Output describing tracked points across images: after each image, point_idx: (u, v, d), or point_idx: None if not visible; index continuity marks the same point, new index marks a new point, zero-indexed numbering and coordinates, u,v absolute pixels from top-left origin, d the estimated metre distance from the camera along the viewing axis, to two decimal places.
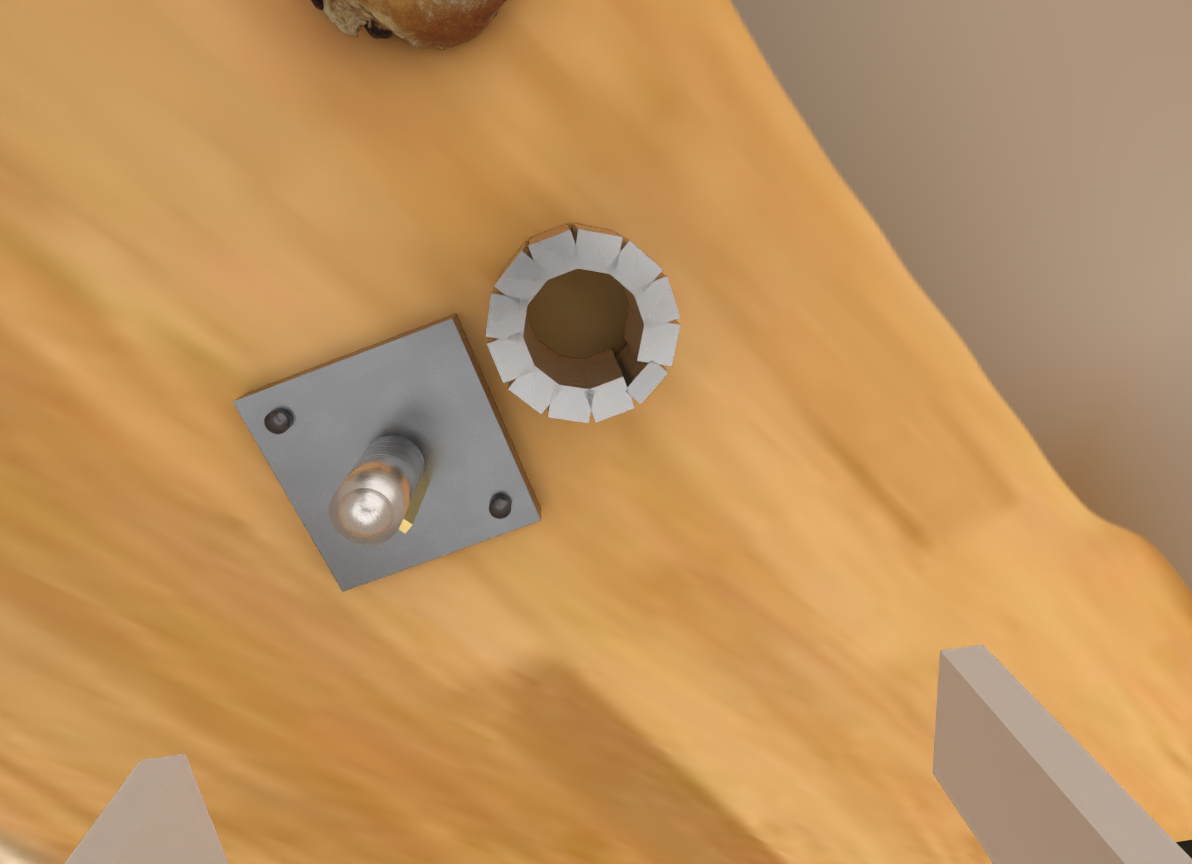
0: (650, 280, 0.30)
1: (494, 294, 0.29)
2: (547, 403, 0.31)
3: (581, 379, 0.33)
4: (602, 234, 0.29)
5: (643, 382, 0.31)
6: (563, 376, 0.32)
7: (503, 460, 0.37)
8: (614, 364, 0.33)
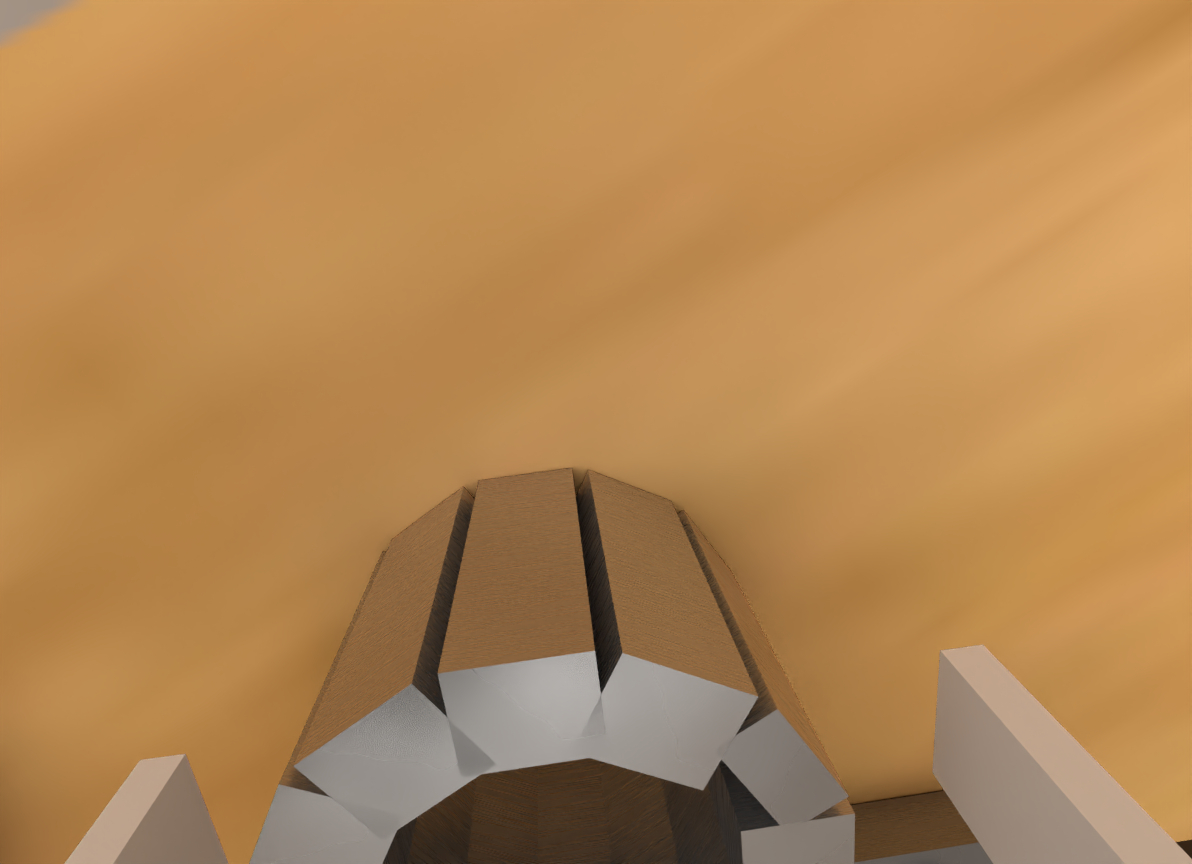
0: (441, 724, 0.08)
1: None
2: None
3: (709, 831, 0.12)
4: (263, 836, 0.09)
5: (782, 782, 0.09)
6: None
7: None
8: None
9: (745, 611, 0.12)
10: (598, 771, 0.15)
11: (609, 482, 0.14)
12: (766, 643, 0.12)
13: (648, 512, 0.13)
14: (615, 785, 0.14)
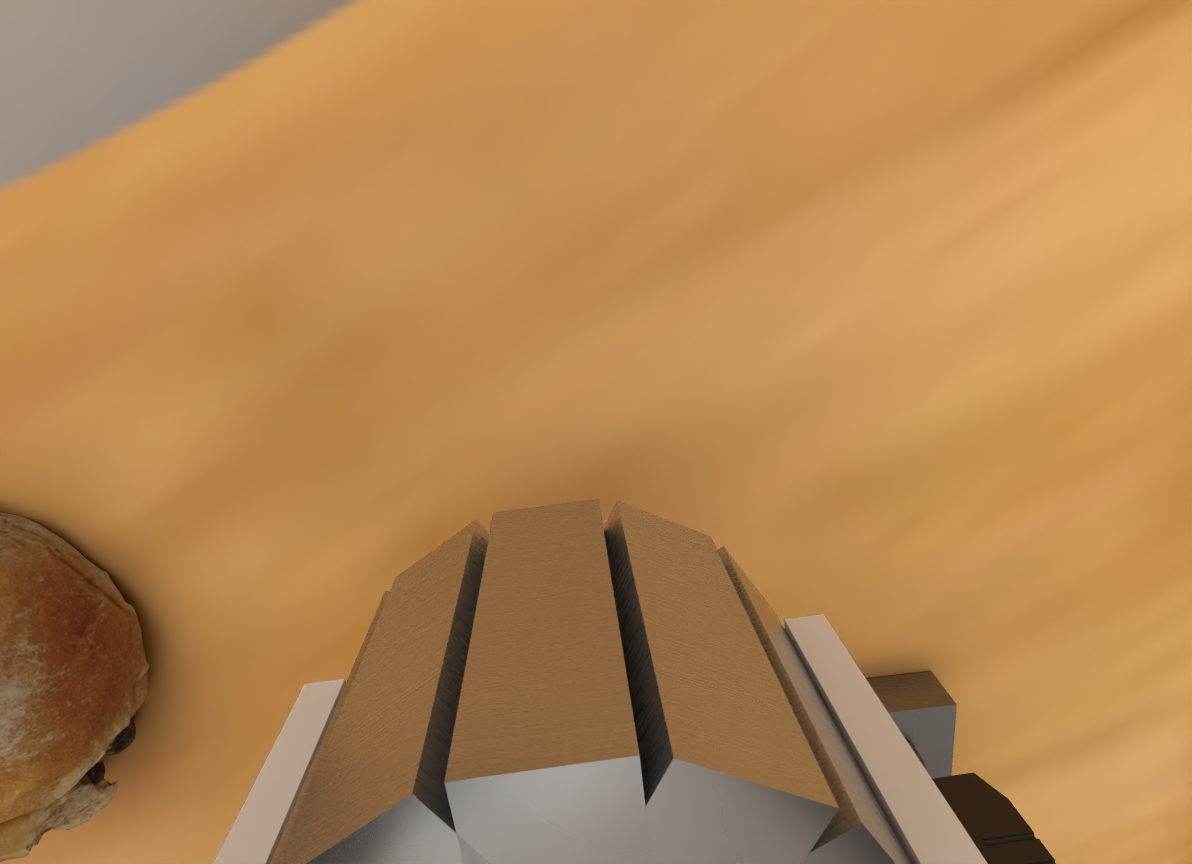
0: (449, 840, 0.07)
1: None
2: None
3: None
4: None
5: None
6: None
7: None
8: None
9: (799, 670, 0.11)
10: None
11: (641, 516, 0.12)
12: (825, 709, 0.11)
13: (687, 553, 0.12)
14: None
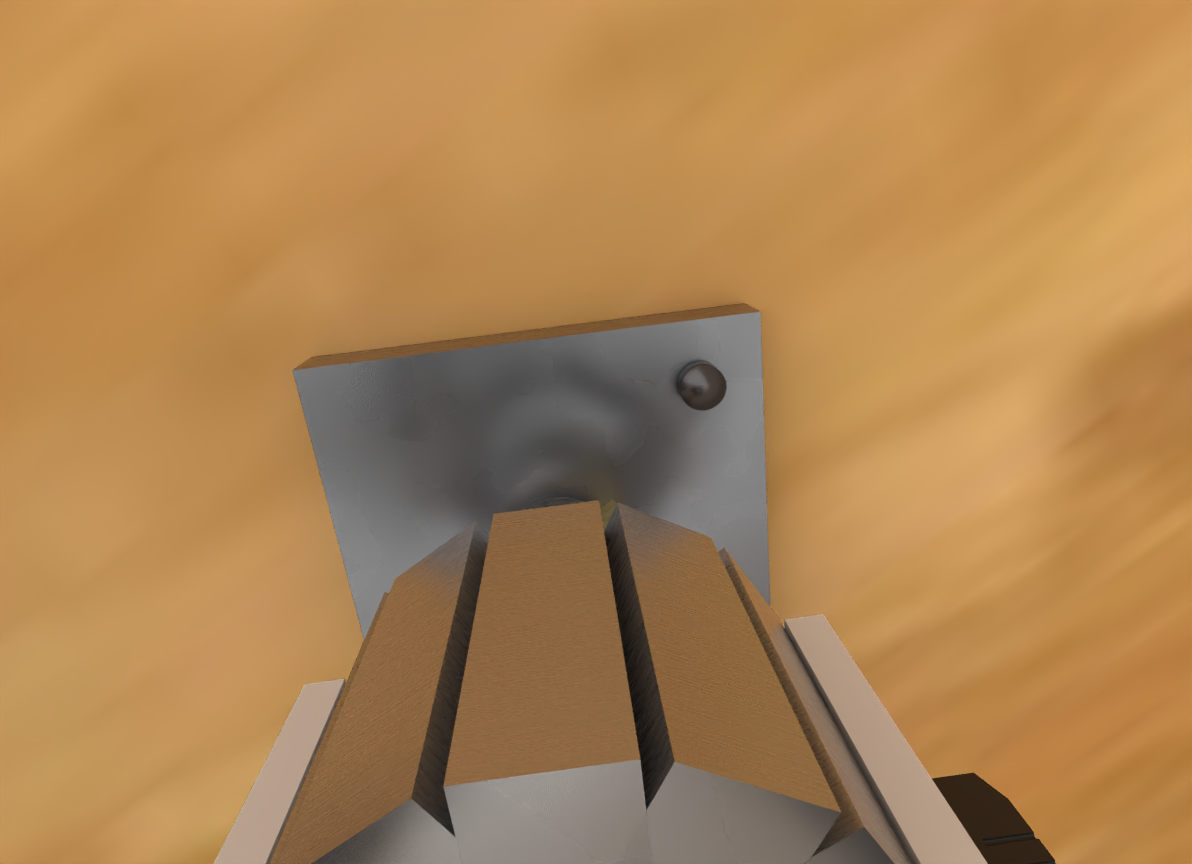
0: (448, 845, 0.07)
1: None
2: None
3: None
4: None
5: None
6: None
7: (606, 352, 0.18)
8: None
9: (801, 672, 0.11)
10: None
11: (641, 517, 0.12)
12: (826, 711, 0.10)
13: (687, 553, 0.11)
14: None
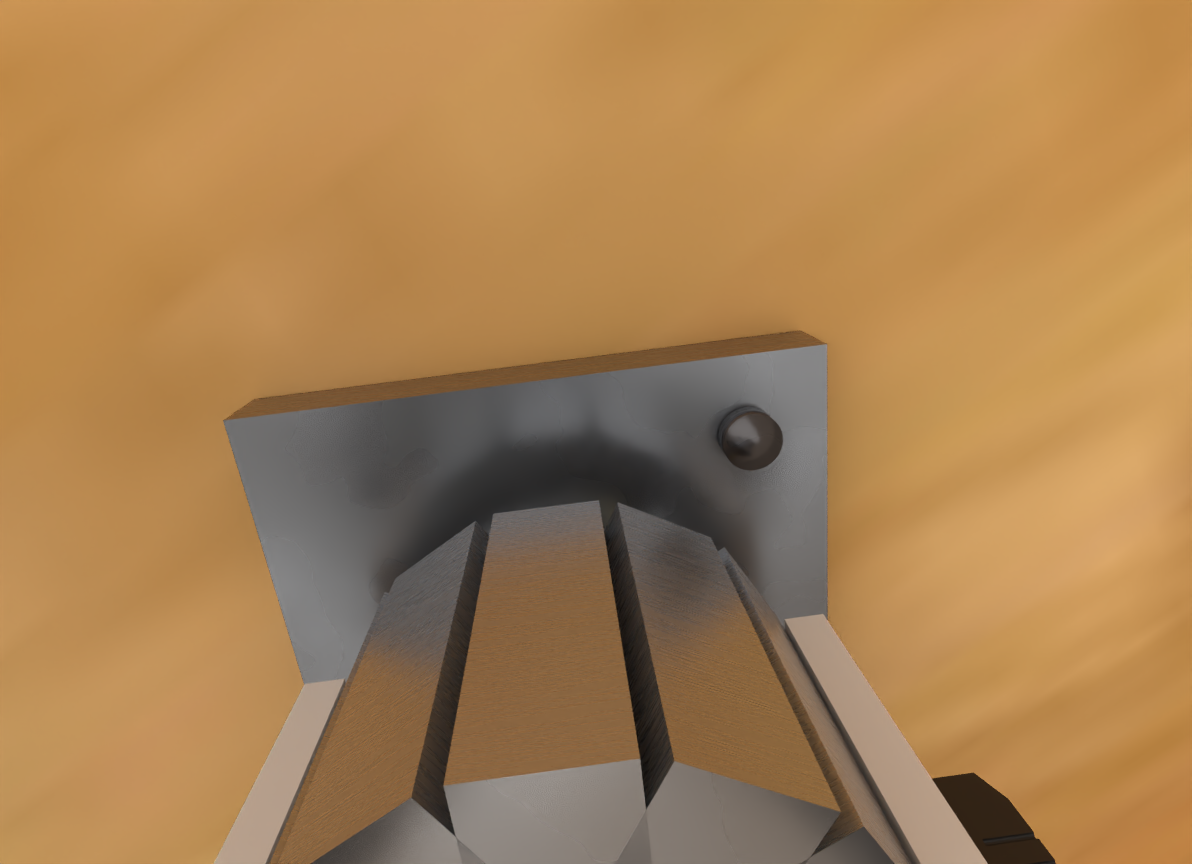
0: (448, 844, 0.07)
1: None
2: None
3: None
4: None
5: None
6: None
7: (628, 396, 0.14)
8: None
9: (800, 672, 0.11)
10: None
11: (641, 516, 0.12)
12: (826, 711, 0.10)
13: (687, 553, 0.11)
14: None
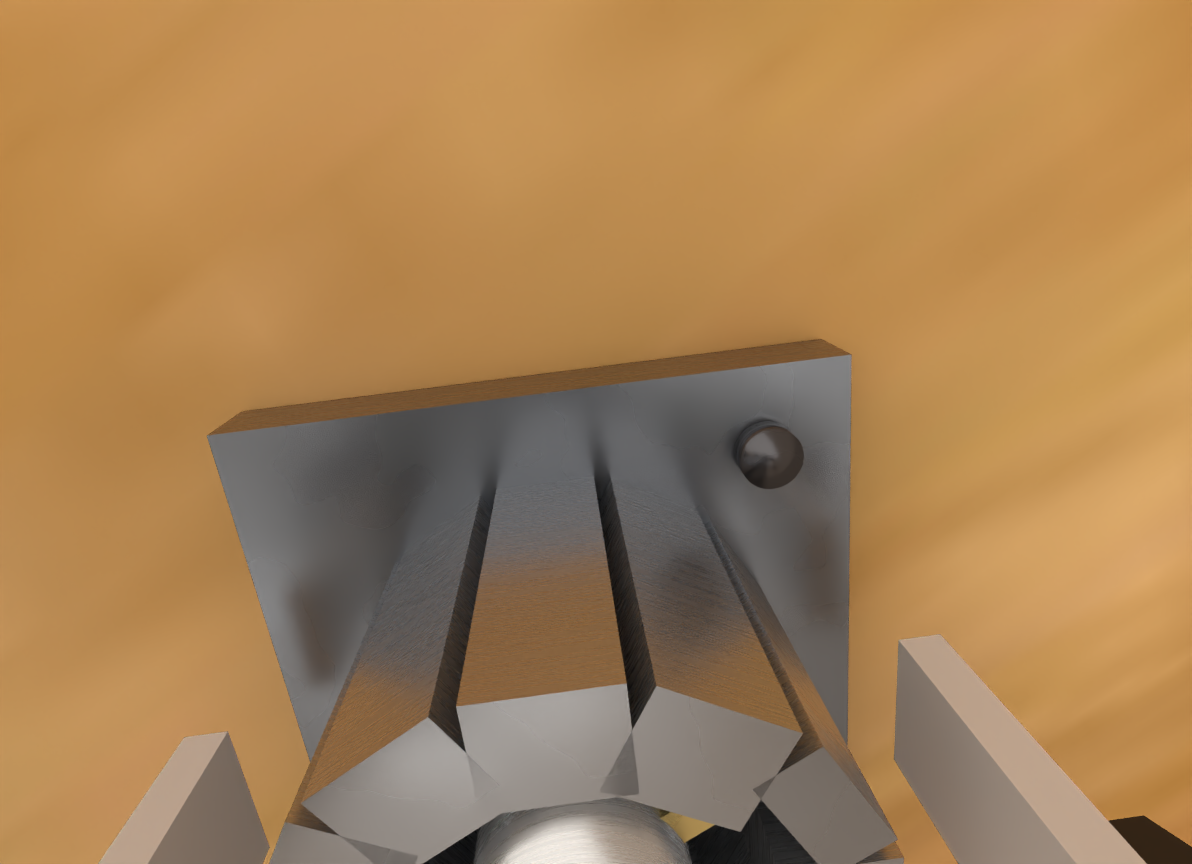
0: (460, 760, 0.08)
1: None
2: None
3: None
4: None
5: (825, 822, 0.08)
6: None
7: (639, 409, 0.13)
8: None
9: (778, 631, 0.12)
10: None
11: (633, 492, 0.13)
12: (801, 665, 0.12)
13: (675, 524, 0.12)
14: None
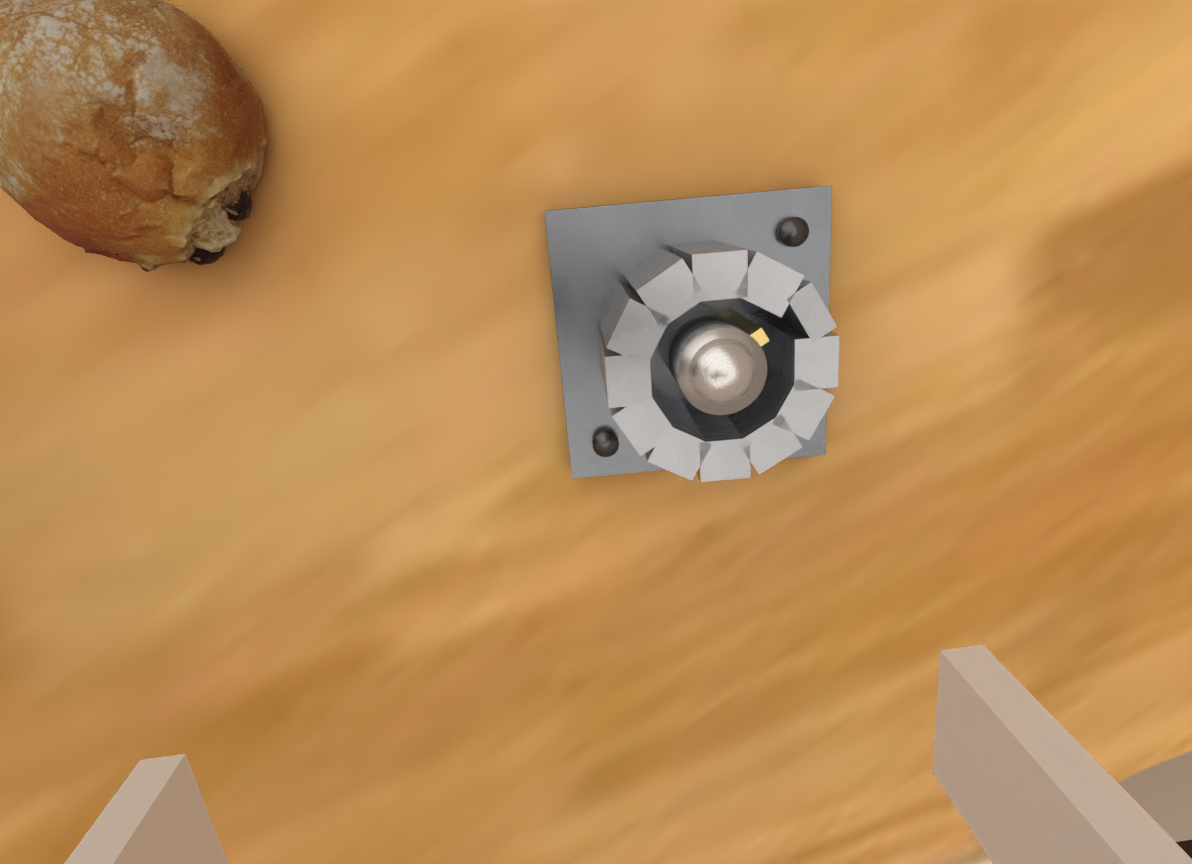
0: (690, 276, 0.23)
1: (649, 458, 0.26)
2: (792, 436, 0.25)
3: (777, 380, 0.26)
4: (620, 321, 0.24)
5: (811, 316, 0.24)
6: (767, 400, 0.27)
7: (735, 208, 0.29)
8: (774, 331, 0.27)
9: None
10: None
11: None
12: None
13: None
14: None
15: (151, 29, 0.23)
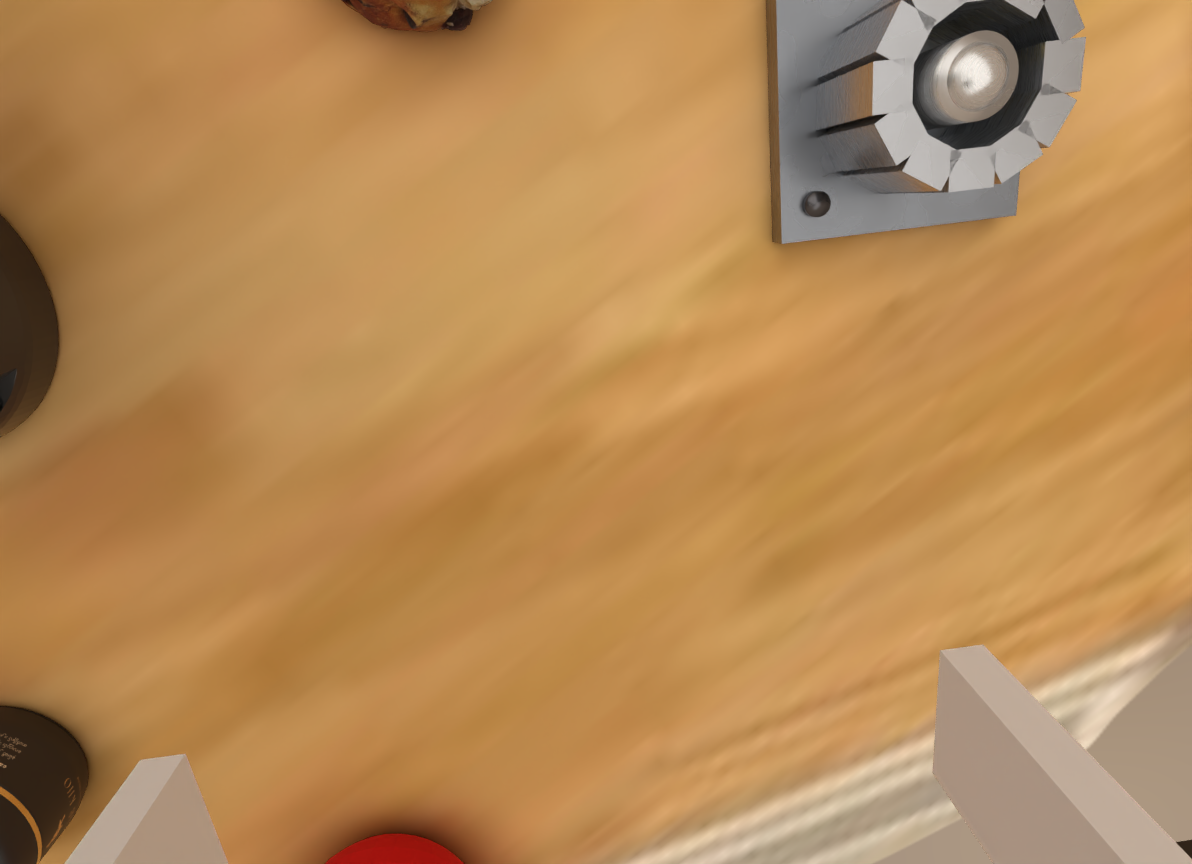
0: None
1: (904, 168, 0.28)
2: (1035, 143, 0.28)
3: (1010, 101, 0.29)
4: (890, 24, 0.26)
5: (1062, 17, 0.26)
6: (1000, 122, 0.29)
7: None
8: None
9: None
10: None
11: None
12: None
13: None
14: None
15: None
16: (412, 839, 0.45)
